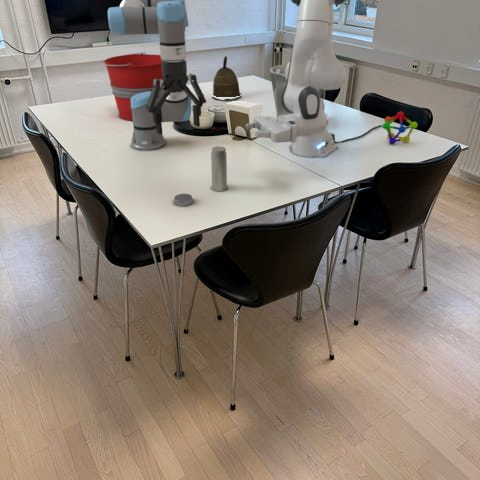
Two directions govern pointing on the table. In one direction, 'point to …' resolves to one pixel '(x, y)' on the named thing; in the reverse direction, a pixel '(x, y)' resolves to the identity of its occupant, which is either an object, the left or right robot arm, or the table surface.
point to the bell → (225, 82)
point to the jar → (219, 168)
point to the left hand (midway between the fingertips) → (178, 129)
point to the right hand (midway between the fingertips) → (251, 130)
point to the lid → (183, 199)
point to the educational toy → (398, 128)
